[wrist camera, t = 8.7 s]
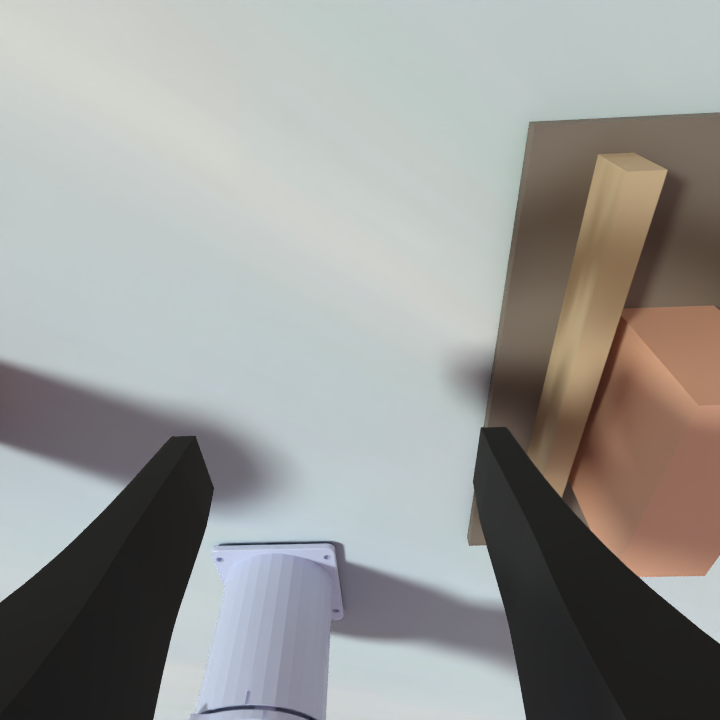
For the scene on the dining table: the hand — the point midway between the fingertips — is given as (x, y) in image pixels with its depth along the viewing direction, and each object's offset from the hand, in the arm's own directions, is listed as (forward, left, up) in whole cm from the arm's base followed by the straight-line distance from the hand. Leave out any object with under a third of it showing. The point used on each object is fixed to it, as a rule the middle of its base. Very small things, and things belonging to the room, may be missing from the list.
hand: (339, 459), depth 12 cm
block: (-6, -13, -9) cm, 17 cm away
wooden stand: (-6, -13, -9) cm, 17 cm away
